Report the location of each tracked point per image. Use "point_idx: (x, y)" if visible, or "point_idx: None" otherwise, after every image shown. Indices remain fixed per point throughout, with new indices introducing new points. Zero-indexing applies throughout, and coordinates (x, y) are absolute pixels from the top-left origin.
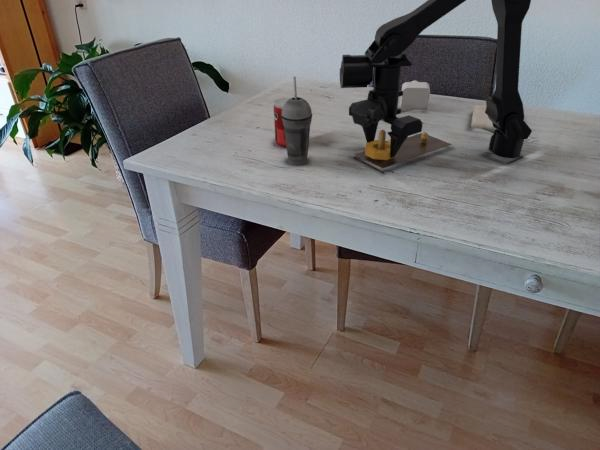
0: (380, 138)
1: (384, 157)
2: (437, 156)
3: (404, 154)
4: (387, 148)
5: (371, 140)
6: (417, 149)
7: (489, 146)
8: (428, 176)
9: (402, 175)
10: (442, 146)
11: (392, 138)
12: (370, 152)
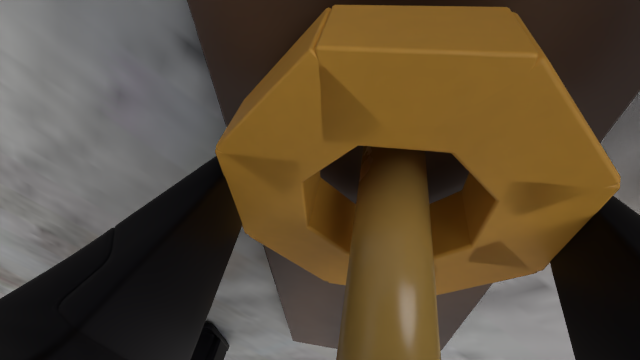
0: (376, 297)
1: (249, 99)
2: (269, 283)
3: None
4: None
5: (575, 250)
6: (326, 291)
7: (212, 352)
8: (96, 157)
9: (126, 66)
10: (294, 327)
11: (11, 341)
12: (401, 35)
